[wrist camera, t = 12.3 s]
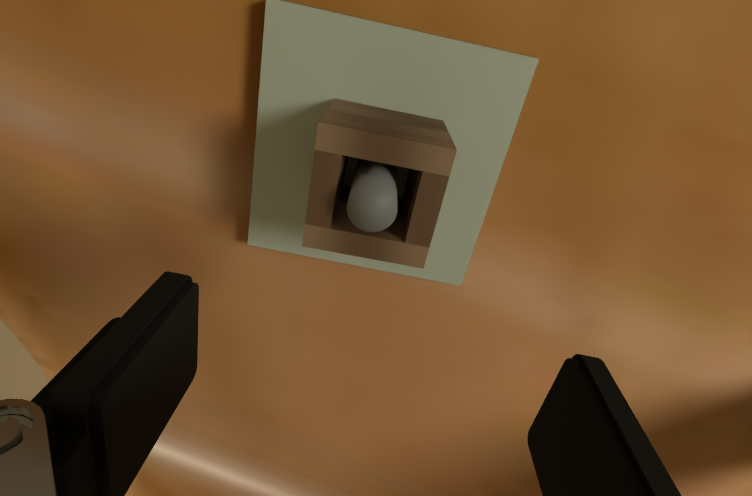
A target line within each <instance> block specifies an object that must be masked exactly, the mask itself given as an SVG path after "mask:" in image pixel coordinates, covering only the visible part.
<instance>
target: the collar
mask: <svg viewBox="0 0 752 496" xmlns="http://www.w3.org/2000/svg"><path fill="white" fill-rule="evenodd" d="M456 152H457V149H456V147H455V145H454V143H453V140H452V138H451V136H450V134H449V132H448V130H447V127H446V125H445V123H444V121H443V120H438V119H433V118H429V117H424V116H419V115H414V114H409V113H404V112H399V111H395V110H390V109H385V108H380V107H375V106H370V105H365V104H361V103H356V102H351V101H346V100H341V99H336V98H335V99H334V100H333V102H332V103H331V104H330V106H329V107H328V109H327V110H326V111H325V113H324V114H323V116H322V117H321V119H320V120H319V121H318V127H317V134H316V142H315V150H314V158H313V165H312V173H311V181H310V188H309V196H308V204H307V211H306V219H305V227H304V234H303V242H302V246H303V247H309V248H314V249H320V250H325V251H330V252H336V253H341V254H346V255H352V256H357V257H363V258H368V259H373V260H379V261H384V262H389V263H395V264H400V265H406V266H411V267H416V268H422V269H424V265H425V262H426V258H427V255H428V251H429V248H430V244H431V241H432V237H433V233H434V230H435V226H436V223H437V219H438V216H439V212H440V209H441V205H442V202H443V198H444V194H445V191H446V187H447V184H448V180H449V177H450V173H451V170H452V166H453V162H454V159H455V155H456ZM348 156H349V157H354V158H359V159H364V160H369V161H374V162H379V163H384V164H389V165H394V166H399V167H404V168H409V173H408V177H407V181H406V185H405V189H404V194H403V197H399V196H397V215H396V218H395V220H394V221H393V223H392V224H391V225H390V226H389V227H387V228H386V229H384V230H382V231H378V232H367V231H364V230H361V229H359V228H358V227H356V226H355V225H354V224H353V223H352V222H351V220H350V219H349V216H348V213H347V203H348V199H349V195H350V191H351V187H348V186H343V182H344V176H345V170H346V164H347V158H348Z"/></svg>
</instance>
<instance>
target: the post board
mask: <svg viewBox="0 0 752 496" xmlns="http://www.w3.org/2000/svg"><path fill="white" fill-rule="evenodd" d="M538 60H539V59H537V58H534V57H530V56H526V55H521V54H517V53H512V52H508V51H504V50H499V49H495V48H490V47H486V46H482V45H477V44H473V43H468V42H464V41H459V40H455V39H451V38H446V37H442V36H437V35H433V34H429V33H424V32H420V31H415V30H411V29H406V28H402V27H398V26H393V25H389V24H384V23H380V22H376V21H371V20H367V19H362V18H358V17H353V16H349V15H345V14H340V13H336V12H331V11H327V10H323V9H318V8H314V7H309V6H305V5H300V4H296V3H292V2H287V1H283V0H266V6H265V20H264V33H263V46H262V59H261V73H260V86H259V99H258V113H257V126H256V139H255V153H254V166H253V179H252V192H251V206H250V219H249V232H248V245H251V246H256V247H262V248H267V249H272V250H277V251H282V252H288V253H293V254H298V255H303V256H308V257H314V258H319V259H324V260H329V261H334V262H340V263H345V264H350V265H355V266H360V267H366V268H371V269H376V270H381V271H386V272H392V273H397V274H402V275H407V276H412V277H418V278H423V279H428V280H433V281H439V282H444V283H449V284H454V285H459V286H461V284H462V281H463V278H464V275H465V272H466V269H467V267H468V264H469V261H470V258H471V255H472V252H473V249H474V246H475V243H476V240H477V238H478V235H479V232H480V229H481V226H482V223H483V220H484V217H485V214H486V211H487V208H488V206H489V203H490V200H491V197H492V194H493V191H494V188H495V185H496V182H497V179H498V177H499V174H500V171H501V168H502V165H503V162H504V159H505V156H506V153H507V150H508V147H509V145H510V142H511V139H512V136H513V133H514V130H515V127H516V124H517V121H518V118H519V116H520V113H521V110H522V107H523V104H524V101H525V98H526V95H527V92H528V89H529V86H530V84H531V81H532V78H533V75H534V72H535V69H536V66H537V63H538ZM335 98H336V99H341V100H346V101H351V102H356V103H361V104H365V105H370V106H375V107H380V108H385V109H390V110H395V111H399V112H404V113H409V114H414V115H419V116H424V117H429V118H433V119H438V120H443V121H444V123H445V125H446V127H447V130H448V132H449V134H450V136H451V138H452V140H453V143H454V145H455V147H456V149H457V152H456V155H455V159H454V162H453V166H452V170H451V173H450V177H449V180H448V184H447V187H446V191H445V194H444V198H443V202H442V205H441V209H440V212H439V216H438V219H437V223H436V226H435V230H434V233H433V237H432V241H431V244H430V248H429V251H428V255H427V258H426V262H425V265H424V269H422V268H416V267H411V266H406V265H400V264H395V263H389V262H384V261H379V260H373V259H368V258H363V257H357V256H352V255H346V254H341V253H336V252H330V251H325V250H320V249H314V248H309V247H303V246H302V242H303V234H304V227H305V219H306V211H307V204H308V196H309V188H310V181H311V173H312V165H313V158H314V150H315V142H316V134H317V127H318V121H319V120H320V119H321V117H322V116H323V114H324V113H325V111H326V110H327V109H328V107H329V106H330V104H331V103H332V102H333V100H334V99H335ZM408 173H409V168H404V167H399V166H394V165H389V164H384V163H379V162H374V161H369V160H364V159H359V158H354V157H349V156H348V158H347V164H346V170H345V176H344V182H343V186H348V187H351V191H350V195H349V199H348V203H347V213H348V216H349V219H350V220H351V222H352V223H353V224H354V225H355V226H356V227H358V228H359V229H361V230H364V231H367V232H378V231H382V230H384V229H386V228H387V227H389V226H390V225H391V224H392V223H393V221H394V220H395V218H396V215H397V196H399V197H403V194H404V189H405V185H406V181H407V177H408Z"/></svg>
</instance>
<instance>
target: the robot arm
mask: <svg viewBox="0 0 752 496" xmlns="http://www.w3.org/2000/svg"><path fill="white" fill-rule="evenodd" d="M198 301H199V286H198V284H197V283H193V282H192V278H191V277H190V276H188V275H183V274H178V273H173V272H165V273H163V274H162V275H161V276H160V277H159V278H158V280H157V281H156V282H155V283H154V284H153V285H152V286H151V287H150V288H149V289H148V290H147V291H146V292H145V293H144V294H143V295H142V296H141V297H140V298H139V299H138V300H137V301H136V302H135V304H134V305H133V306H132V307H131V308H130V309H129V310H128V311H127V312H126V313H125V314H124V315H123V316H122V317H121V318H118V317H117V318H114V319H112V320H111V321H110V322H108V323H107V324H106V325H105V326H104V327H103V328H102V329H101V330H100V331H99V332H98V333H97V334H96V335H95V336H94V337H93V338H92V339H91V340H90V341H89V342H88V343H87V345H86V346H85V347H84V348H83V349H82V350H81V351H80V352H79V353H78V354H77V355H76V356H75V357H74V358H73V359H72V360H71V361H70V362H69V363H68V364H67V365H66V366H65V367H64V368H63V369H62V370H61V371H60V372H59V373H58V374H57V375H56V376H55V377H54V378H53V379H52V380H51V381H50V382H49V383H48V384H47V385H46V386H45V387H44V388H43V389H42V390H41V391H40V392H39V393H38V394H37V395H36V396H35V397H34V398H33V399H32V400H31V401H27V400H23V399H5V400H0V496H124V495H125V494H126V492H127V490H128V489H129V487H130V485H131V484H132V482H133V480H134V479H135V477H136V475H137V473H138V472H139V470H140V468H141V467H142V465H143V463H144V462H145V460H146V458H147V457H148V455H149V453H150V452H151V450H152V448H153V446H154V445H155V443H156V441H157V440H158V438H159V436H160V435H161V433H162V431H163V430H164V428H165V426H166V425H167V423H168V421H169V419H170V418H171V416H172V414H173V413H174V411H175V409H176V408H177V406H178V404H179V403H180V401H181V399H182V398H183V396H184V394H185V392H186V391H187V389H188V387H189V386H190V384H191V382H192V381H193V379H194V376H195V373H196V369H197V347H198ZM528 446H529V450H530V453H531V456H532V460H533V463H534V467H535V470H536V474H537V477H538V481H539V484H540V488H541V491H542V494H543V496H681V494H680V493H679V491H678V489H677V488H676V486H675V484H674V482H673V481H672V479H671V477H670V475H669V474H668V472H667V470H666V469H665V467H664V465H663V463H662V462H661V460H660V458H659V457H658V455H657V453H656V451H655V450H654V448H653V446H652V445H651V443H650V441H649V439H648V438H647V436H646V434H645V432H644V431H643V429H642V427H641V426H640V424H639V422H638V420H637V419H636V417H635V415H634V414H633V412H632V410H631V408H630V407H629V405H628V403H627V401H626V400H625V398H624V396H623V395H622V393H621V391H620V389H619V388H618V386H617V384H616V383H615V381H614V379H613V377H612V376H611V374H610V372H609V370H608V369H607V367H606V365H605V364H604V362H603V361H602V360H601V359H599V358H595V357H590V356H585V355H580V354H576V355H574V356H573V357H572V359H571V358H568V359H566V360H565V362H564V364H563V365H562V367H561V369H560V371H559V373H558V375H557V377H556V379H555V381H554V383H553V385H552V387H551V389H550V391H549V393H548V395H547V396H546V398H545V400H544V402H543V404H542V406H541V408H540V410H539V412H538V414H537V416H536V418H535V420H534V422H533V424H532V426H531V427H530V430H529V432H528Z"/></svg>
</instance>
